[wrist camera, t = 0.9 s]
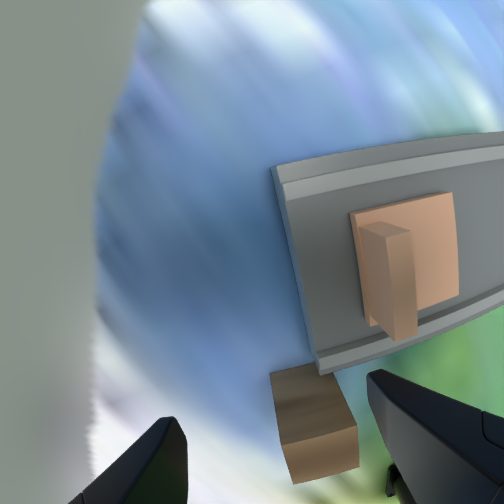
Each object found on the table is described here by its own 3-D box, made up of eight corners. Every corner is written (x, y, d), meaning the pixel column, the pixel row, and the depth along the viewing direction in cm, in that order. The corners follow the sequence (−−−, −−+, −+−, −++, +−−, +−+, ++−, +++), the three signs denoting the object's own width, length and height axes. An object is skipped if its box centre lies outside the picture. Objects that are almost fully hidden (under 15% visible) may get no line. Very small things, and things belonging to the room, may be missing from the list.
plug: (332, 400, 22) (359, 466, 15) (280, 413, 22) (293, 484, 15) (326, 358, 21) (357, 425, 14) (269, 373, 21) (280, 445, 14)
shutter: (451, 290, 17) (489, 313, 13) (365, 320, 17) (393, 354, 13) (443, 191, 15) (487, 196, 12) (349, 212, 15) (381, 223, 12)
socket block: (492, 286, 20) (521, 301, 17) (310, 351, 21) (322, 382, 17) (479, 134, 18) (512, 130, 14) (270, 168, 18) (277, 164, 14)
